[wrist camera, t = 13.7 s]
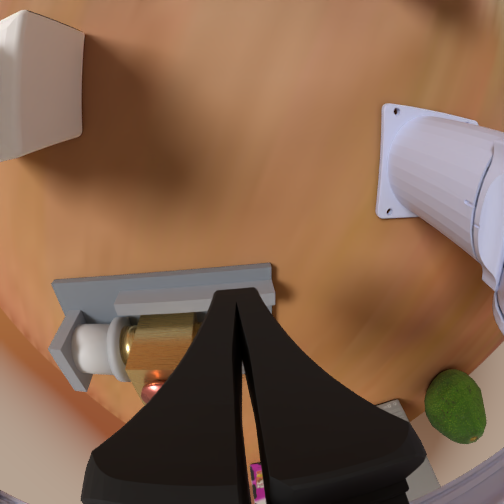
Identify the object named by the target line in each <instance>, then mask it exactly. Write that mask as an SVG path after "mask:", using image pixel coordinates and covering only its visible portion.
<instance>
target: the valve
mask: <svg viewBox="0 0 504 504" xmlns="http://www.w3.org/2000/svg"><path fill="white" fill-rule="evenodd" d="M201 324H202V322H198V320H197V315H196V312H187V313H170V314H151V315H140V319H139V322H138V325H129V326H124V327H123V328H122V330H121V333H120V338H119V348H120V354H121V358H122V361H123V363H124V365H125V366H126V368H125V371H126V373H127V374H128V376H129V378H130V380H131V382H132V384H133V386H134V388H135V390H136V391H137V393H138V395H139V397H140V399H141V400H142V402H143V404H144V405H146V404H147V403H148V402H149V400H150V399H151V398H152V397H153V396H154V395H155V394H156V392H157V391H158V390H159V389H160V388H161V386H162V385H163V384H164V383H165V381H166V380H167V379H168V378H169V376H170V375H171V374H172V372H173V371H174V370H175V368H176V367H177V365H178V364H179V362H180V361H181V359H182V358H183V356H184V355H185V353H186V351H187V350H188V348H189V346H190V345H191V343H192V341H193V339H194V338H195V336H196V334H197V332H198V330H199V328H200V326H201Z"/></svg>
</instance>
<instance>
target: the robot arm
mask: <svg viewBox="0 0 504 504" xmlns="http://www.w3.org/2000/svg"><path fill="white" fill-rule="evenodd" d="M395 108H396V109H397V114H396V115H395V114H394V109H395ZM388 209H390V212H389V213H387V210H388ZM376 215H377V216H378V217H380V218H382V219H384V218H405V217H420V218H422V219H423V220H425V221H426V222H427V223H429V224H430V225H431V226H433V227H434V228H436V229H437V230H438V231H440V232H441V233H442V234H444V235H445V236H446V237H448V238H449V239H450V240H451V241H453V242H454V243H455V244H457V245H458V246H459V247H460V248H462V249H463V250H464V251H465V252H467V253H468V254H469V255H470V256H472V257H473V258H474V259H475V260H476V261H478V262H479V263H480V264H481V266H482V269H483V274H482V280H483V281H484V282H485V283H486V284H487V285H488V286H489V287H491V288H492V289H493V290H494V291H495V293H494V296H493V304H492V308H493V315H494V318H495V321H496V323H497V325H498V327H499V329H500V330H501V332H502V333H503V335H504V132H500V131H497V130H493V129H489V128H486V127H482V126H478V123H477V122H476V121H474V120H470V119H466V118H462V117H458V116H454V115H450V114H446V113H441V112H436V111H432V110H426V109H421V108H416V107H410V106H404V105H397V104H390V103H386V104H384V105H383V107H382V123H381V150H380V167H379V181H378V192H377V202H376ZM242 361H243V366H244V371H245V375H246V380H247V385H248V389H249V394H250V398H251V403H252V407H253V412H254V417H255V422H256V429H257V437H258V445H259V453H260V461H261V469H262V476H263V484H264V492H265V499H266V504H504V448H502V449H501V450H500V451H498V452H497V453H495V454H494V455H493V456H491V457H490V458H488V459H487V460H485V461H484V462H482V463H481V464H479V465H478V466H476V467H475V468H473V469H471V470H470V471H468V472H467V473H465V474H463V475H462V476H460V477H458V478H456V479H455V480H453V481H451V482H449V483H447V484H446V485H444V486H442V487H440V488H438V489H436V490H434V491H432V492H430V493H428V494H426V495H424V496H422V497H419V498H417V499H415V500H413V501H411V502H409V501H408V498H407V495H406V493H405V492H407V491H408V490H409V486H408V483H407V480H406V478H407V477H408V476H409V475H410V474H412V473H413V472H414V471H415V470H416V469H417V468H418V467H419V466H420V465H421V464H422V463H423V462H424V460H425V458H426V455H427V454H426V451H425V449H424V447H423V445H422V443H421V440H420V439H419V437H418V436H417V434H416V432H415V431H414V429H413V428H412V426H411V424H410V423H409V422H408V421H406V420H404V419H401V418H399V417H397V416H395V415H393V414H391V413H389V412H387V411H385V410H383V409H381V408H379V407H377V406H375V405H373V404H372V403H370V402H368V401H367V400H365V399H363V398H362V397H360V396H358V395H357V394H355V393H354V392H353V391H351V390H350V389H348V388H347V387H345V386H344V385H343V384H341V383H340V382H338V381H337V380H336V379H334V378H333V377H332V376H330V375H329V374H328V373H327V372H325V371H324V370H323V369H322V368H321V367H319V366H318V365H317V364H316V363H315V362H314V361H313V360H312V359H311V358H309V357H308V356H307V355H306V354H305V353H304V352H303V351H302V350H301V349H300V348H299V347H298V346H297V344H296V343H295V342H294V341H293V340H292V339H291V338H290V337H289V336H288V334H287V333H286V332H285V331H284V330H283V328H282V327H281V326H280V324H279V323H278V322H277V321H276V319H275V318H274V317H273V315H272V314H271V312H270V311H269V309H268V308H267V306H266V305H265V303H264V302H263V300H262V298H261V296H260V294H259V292H258V290H257V289H256V288H254V287H249V288H238V289H226V290H217V291H216V292H215V293H214V294H213V298H212V301H211V304H210V306H209V309H208V311H207V313H206V316H205V318H204V320H203V322H202V324H201V326H200V328H199V330H198V332H197V334H196V336H195V338H194V339H193V341H192V343H191V345H190V346H189V348H188V350H187V351H186V353H185V355H184V356H183V358H182V359H181V361H180V362H179V364H178V365H177V367H176V368H175V370H174V371H173V372H172V374H171V375H170V376H169V378H168V379H167V380H166V381H165V383H164V384H163V385H162V386H161V388H160V389H159V390H158V391H157V392H156V394H155V395H154V396H153V397H152V398H151V399H150V400H149V402H148V403H147V404H146V405H145V406H144V407H143V408H142V409H141V410H140V411H139V412H138V413H137V414H136V415H135V416H134V417H133V418H132V419H131V420H129V421H128V422H127V423H126V424H125V425H124V426H123V427H122V428H121V429H120V430H118V431H117V432H116V433H115V434H114V435H112V436H111V437H110V438H108V439H107V440H106V441H105V442H104V443H102V444H101V445H100V446H99V447H97V448H96V449H94V450H93V451H92V453H91V456H90V459H89V461H88V464H87V467H86V471H85V476H84V482H83V488H82V494H81V501H82V503H83V504H251V497H250V489H249V481H248V473H247V464H246V456H245V446H244V437H243V427H242ZM0 504H28V503H26V502H24V501H21V500H19V499H17V498H15V497H13V496H11V495H9V494H7V493H5V492H3V491H1V490H0Z"/></svg>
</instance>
